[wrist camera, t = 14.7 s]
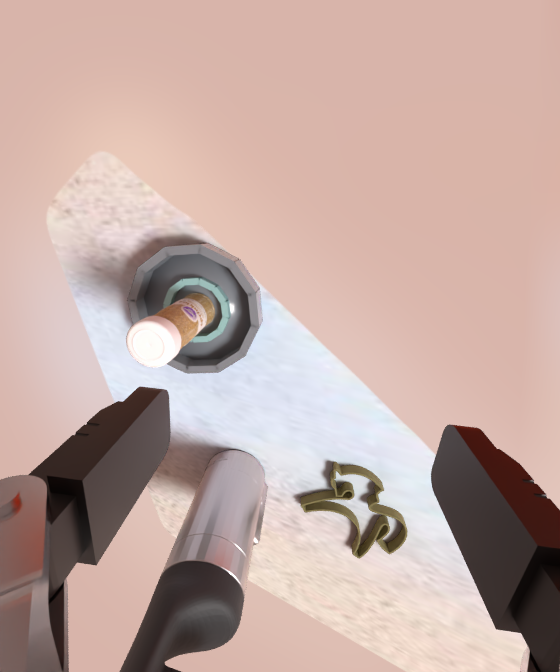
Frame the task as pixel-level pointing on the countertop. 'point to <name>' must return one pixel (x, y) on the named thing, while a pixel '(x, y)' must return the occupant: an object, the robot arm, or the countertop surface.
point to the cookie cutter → (346, 493)
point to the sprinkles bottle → (169, 330)
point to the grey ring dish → (214, 282)
